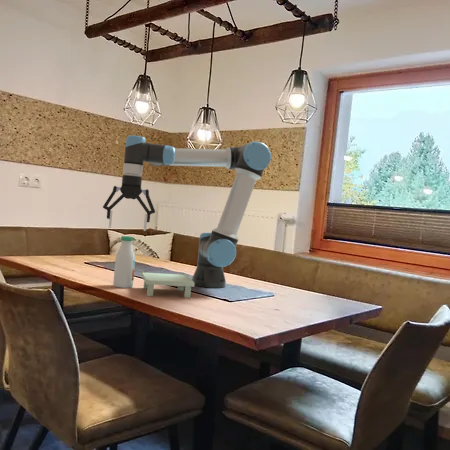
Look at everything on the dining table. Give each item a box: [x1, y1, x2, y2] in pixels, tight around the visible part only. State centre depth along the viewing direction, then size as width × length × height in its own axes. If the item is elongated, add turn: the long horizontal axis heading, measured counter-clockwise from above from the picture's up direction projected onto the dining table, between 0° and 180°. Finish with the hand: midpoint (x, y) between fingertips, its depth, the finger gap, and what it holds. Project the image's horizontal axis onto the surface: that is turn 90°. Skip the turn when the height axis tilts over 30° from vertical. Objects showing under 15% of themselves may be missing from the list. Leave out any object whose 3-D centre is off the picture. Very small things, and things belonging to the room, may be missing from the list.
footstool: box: [141, 272, 196, 299], centre depth 184 cm, size 18×18×6 cm
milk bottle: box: [112, 235, 136, 289], centre depth 188 cm, size 8×8×20 cm
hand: (127, 229), depth 187 cm, fingers open, 13 cm apart
